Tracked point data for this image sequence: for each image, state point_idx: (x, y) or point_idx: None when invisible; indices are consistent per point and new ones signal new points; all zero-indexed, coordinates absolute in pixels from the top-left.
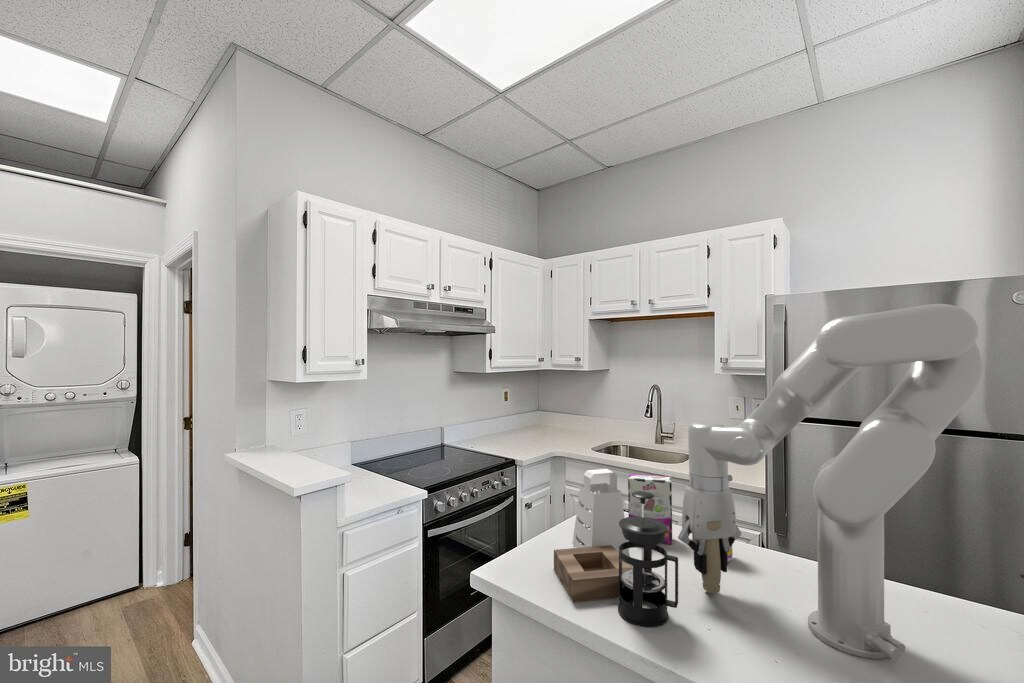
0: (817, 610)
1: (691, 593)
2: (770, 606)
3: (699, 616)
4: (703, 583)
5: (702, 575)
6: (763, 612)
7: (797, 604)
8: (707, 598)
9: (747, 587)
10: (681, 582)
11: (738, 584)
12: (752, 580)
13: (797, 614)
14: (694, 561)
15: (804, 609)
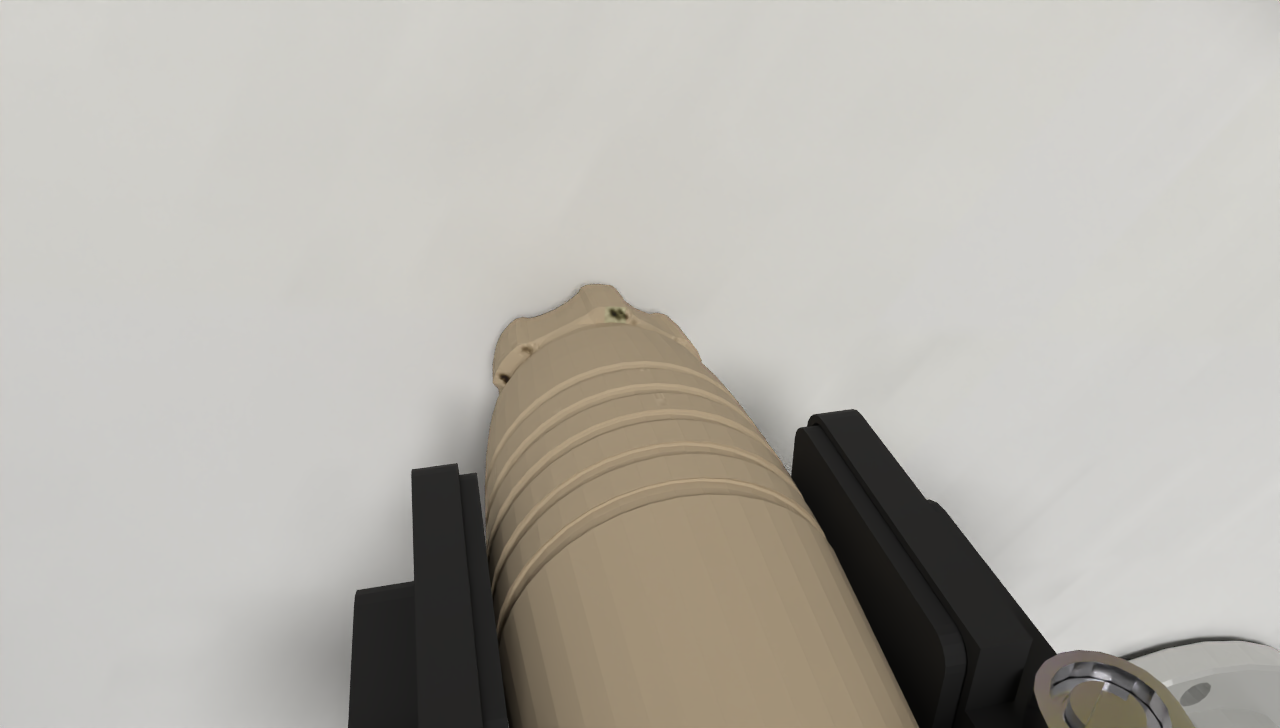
0: (1176, 684)
1: (313, 346)
2: None
3: (218, 710)
4: (501, 389)
5: (485, 493)
6: None
7: (1183, 521)
8: (466, 445)
9: (1058, 254)
10: (281, 50)
11: (1024, 184)
12: (1247, 110)
13: (1052, 630)
14: (355, 658)
15: (1160, 575)
